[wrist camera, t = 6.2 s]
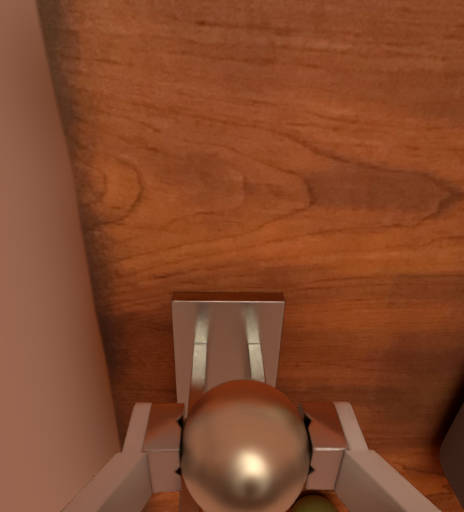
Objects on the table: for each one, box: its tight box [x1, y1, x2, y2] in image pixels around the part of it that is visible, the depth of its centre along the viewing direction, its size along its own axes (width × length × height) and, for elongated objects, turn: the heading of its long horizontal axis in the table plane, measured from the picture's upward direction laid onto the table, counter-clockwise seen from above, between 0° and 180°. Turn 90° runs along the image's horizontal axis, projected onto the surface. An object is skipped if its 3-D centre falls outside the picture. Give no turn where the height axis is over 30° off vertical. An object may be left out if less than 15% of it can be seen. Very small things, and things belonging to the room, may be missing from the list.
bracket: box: [171, 292, 285, 512], centre depth 20 cm, size 12×8×22 cm, turn 178°
